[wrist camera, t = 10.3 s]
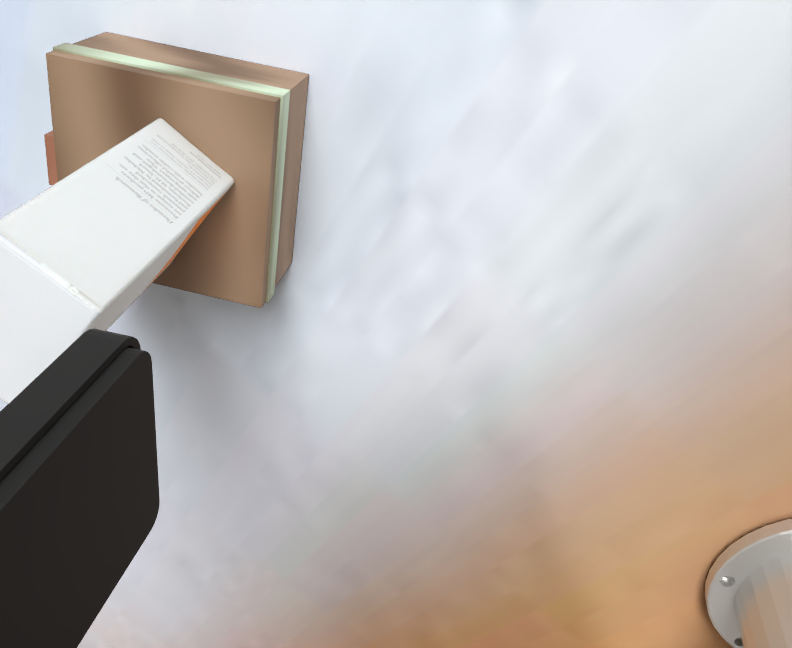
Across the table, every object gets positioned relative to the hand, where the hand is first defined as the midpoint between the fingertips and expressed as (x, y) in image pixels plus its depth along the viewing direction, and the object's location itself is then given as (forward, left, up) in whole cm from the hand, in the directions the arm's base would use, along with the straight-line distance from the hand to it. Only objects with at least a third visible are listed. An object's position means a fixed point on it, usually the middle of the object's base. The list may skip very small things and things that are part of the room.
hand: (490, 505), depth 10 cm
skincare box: (+15, +8, -23) cm, 28 cm away
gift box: (+15, +8, -28) cm, 32 cm away
